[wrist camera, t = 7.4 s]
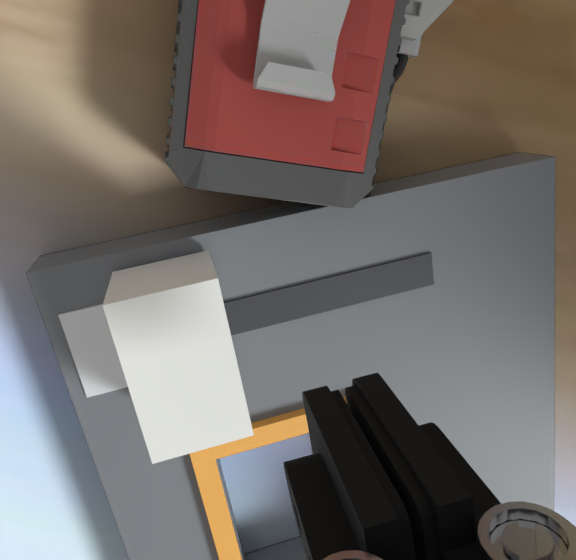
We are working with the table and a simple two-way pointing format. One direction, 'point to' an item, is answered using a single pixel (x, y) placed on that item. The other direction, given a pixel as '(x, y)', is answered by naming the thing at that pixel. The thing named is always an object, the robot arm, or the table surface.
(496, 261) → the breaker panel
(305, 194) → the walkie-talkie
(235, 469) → the table surface
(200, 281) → the block
